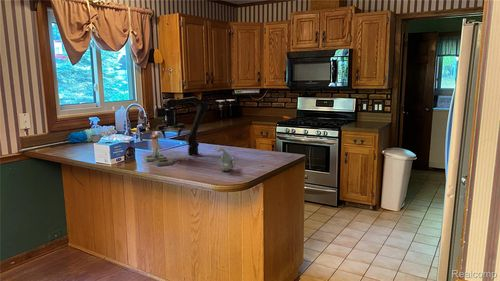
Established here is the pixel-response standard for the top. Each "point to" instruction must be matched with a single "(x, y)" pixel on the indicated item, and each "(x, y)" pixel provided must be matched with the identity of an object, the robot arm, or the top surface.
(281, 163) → the top surface
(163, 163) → the receiver socket
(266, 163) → the top surface
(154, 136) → the pin
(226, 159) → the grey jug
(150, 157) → the tray
